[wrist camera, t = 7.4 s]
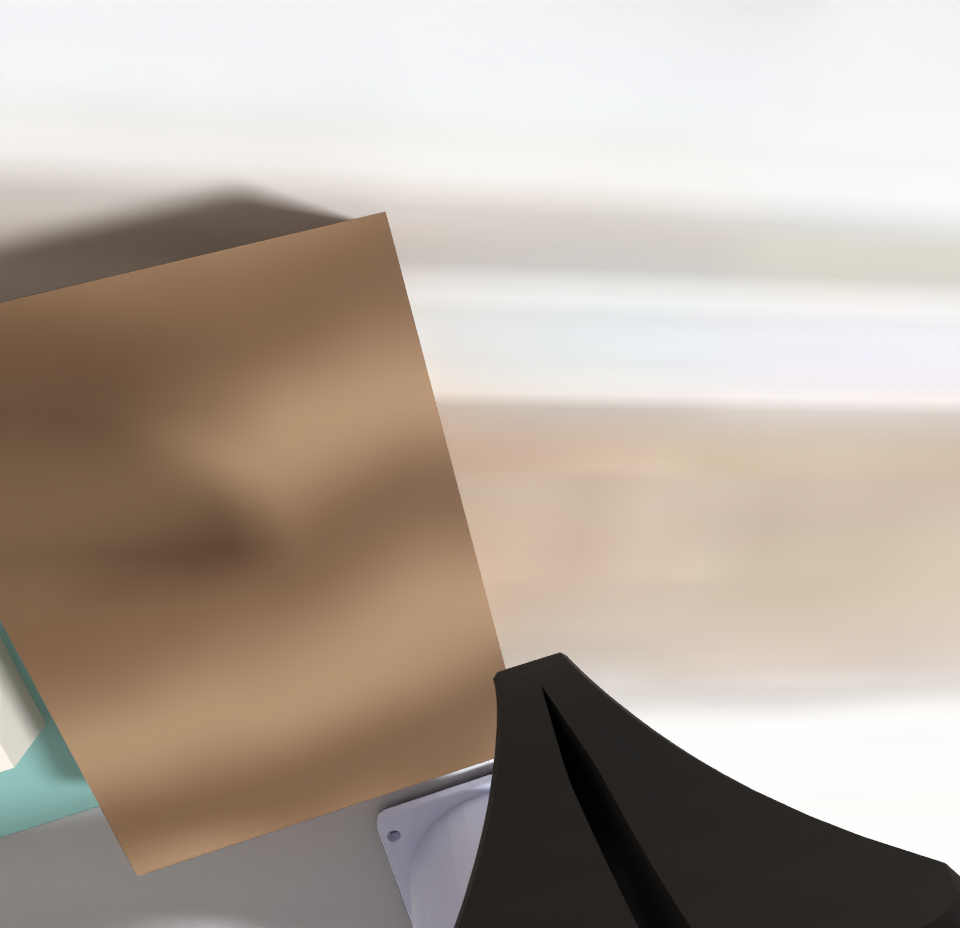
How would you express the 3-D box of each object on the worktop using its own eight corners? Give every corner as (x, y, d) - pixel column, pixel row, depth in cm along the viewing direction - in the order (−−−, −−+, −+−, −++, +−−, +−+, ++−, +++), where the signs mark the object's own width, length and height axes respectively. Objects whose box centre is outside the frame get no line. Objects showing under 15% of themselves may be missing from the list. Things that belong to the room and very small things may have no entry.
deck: (500, 673, 23) (526, 748, 20) (176, 776, 22) (137, 876, 18) (381, 227, 19) (385, 211, 15) (-39, 327, 18) (-151, 338, 14)
